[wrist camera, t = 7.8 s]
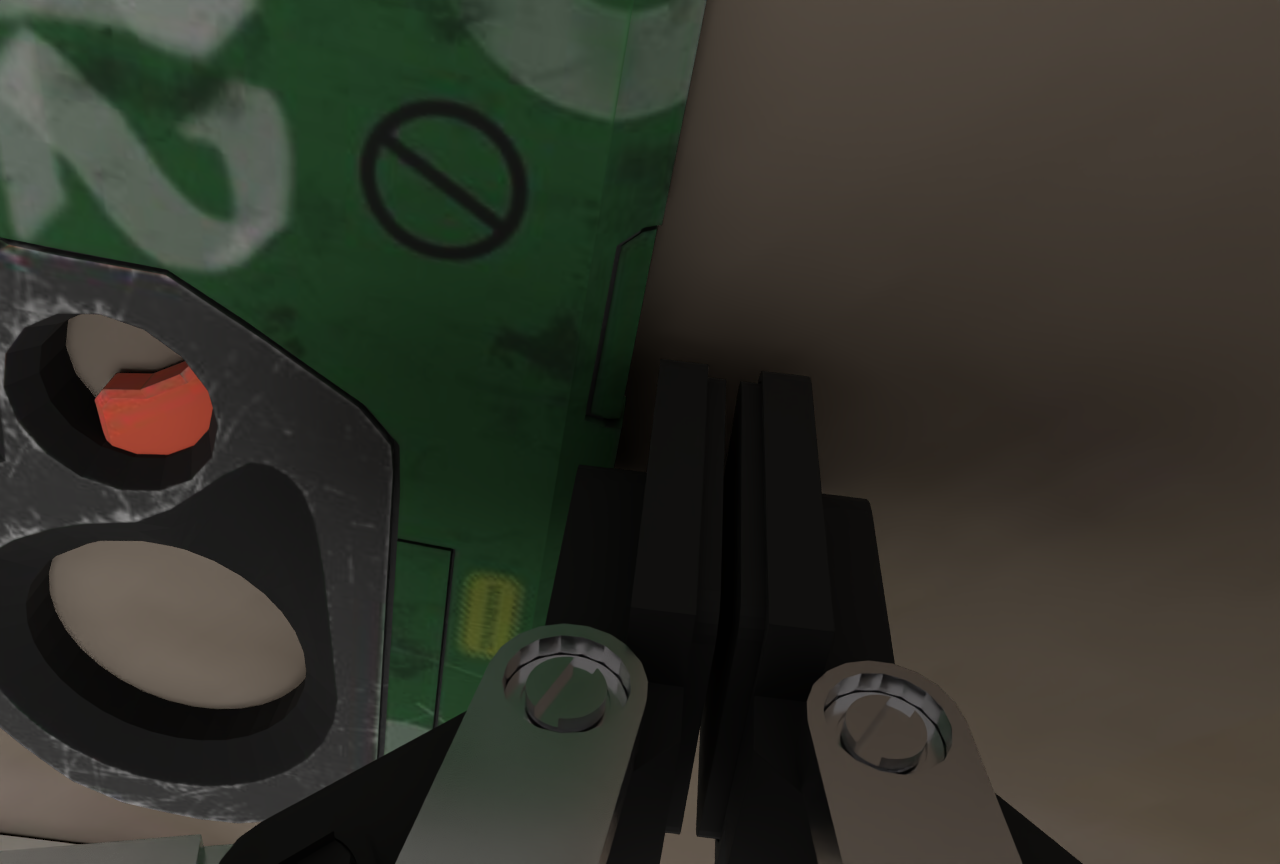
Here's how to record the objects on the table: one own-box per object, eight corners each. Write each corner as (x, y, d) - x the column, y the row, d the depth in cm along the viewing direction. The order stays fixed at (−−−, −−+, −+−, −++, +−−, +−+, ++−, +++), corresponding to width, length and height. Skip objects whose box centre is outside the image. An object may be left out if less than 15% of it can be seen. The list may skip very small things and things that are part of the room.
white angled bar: (789, -1016, 7) (821, -1554, 4) (574, 956, 19) (542, 1197, 16) (-1195, -1231, 7) (-2687, -1916, 4) (-135, 867, 20) (-298, 1090, 17)
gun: (-701, -875, 7) (859, -538, 7) (-490, -799, 8) (843, -512, 9) (-127, 766, 16) (551, 883, 17) (-68, 691, 18) (564, 800, 18)
